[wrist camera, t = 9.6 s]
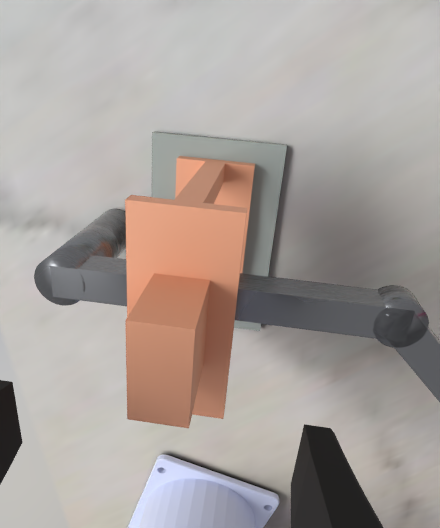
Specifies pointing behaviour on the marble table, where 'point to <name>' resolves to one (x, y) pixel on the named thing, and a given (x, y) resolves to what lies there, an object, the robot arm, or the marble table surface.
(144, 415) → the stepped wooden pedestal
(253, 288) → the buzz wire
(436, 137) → the marble table surface
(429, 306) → the marble table surface
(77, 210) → the marble table surface
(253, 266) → the pad
